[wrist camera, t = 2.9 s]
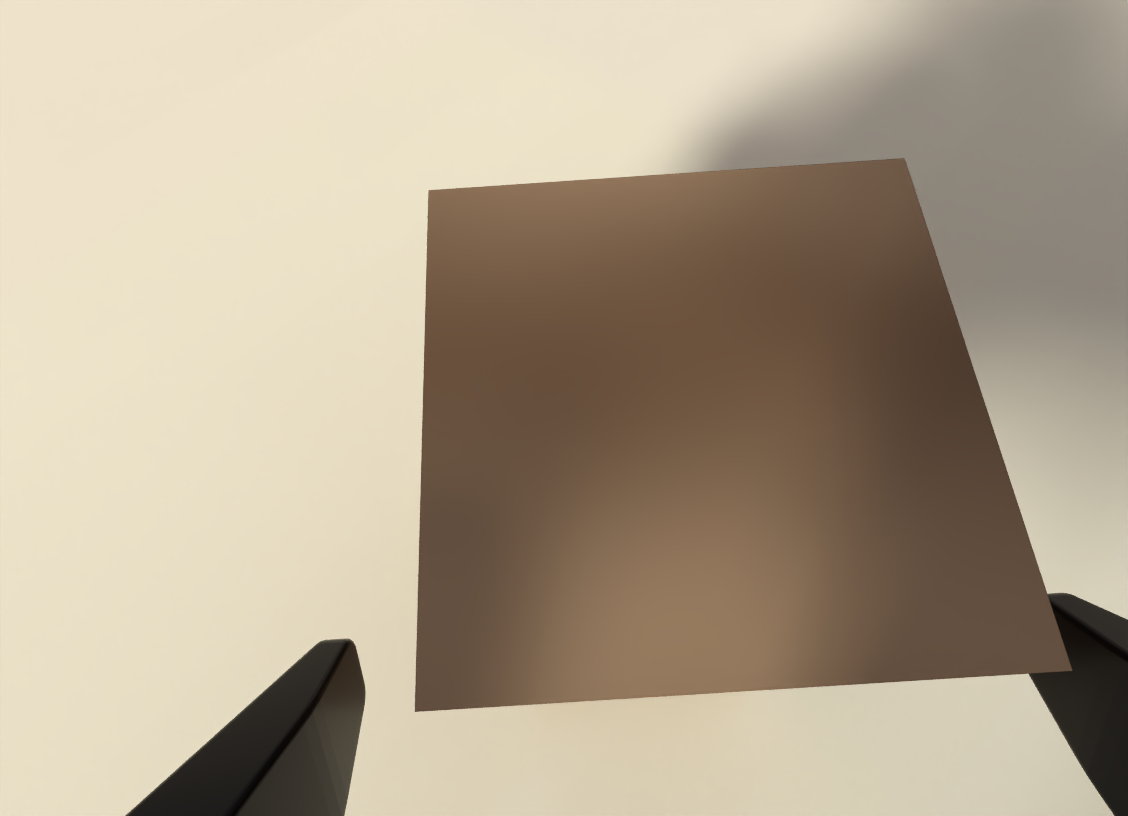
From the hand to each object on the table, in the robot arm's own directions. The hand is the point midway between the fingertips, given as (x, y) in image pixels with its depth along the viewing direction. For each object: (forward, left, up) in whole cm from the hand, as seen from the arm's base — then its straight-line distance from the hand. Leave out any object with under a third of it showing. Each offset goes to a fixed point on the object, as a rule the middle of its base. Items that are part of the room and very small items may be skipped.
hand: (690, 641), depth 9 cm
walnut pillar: (+2, +1, -10) cm, 10 cm away
